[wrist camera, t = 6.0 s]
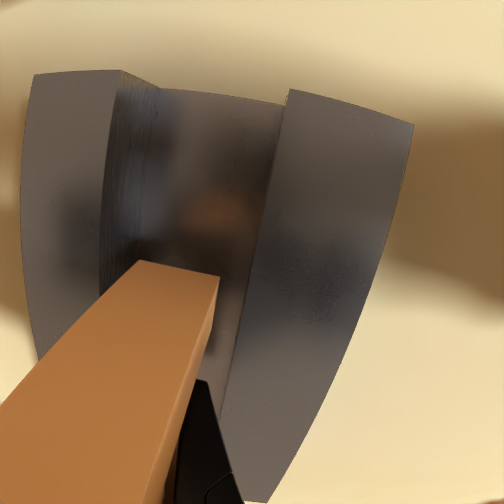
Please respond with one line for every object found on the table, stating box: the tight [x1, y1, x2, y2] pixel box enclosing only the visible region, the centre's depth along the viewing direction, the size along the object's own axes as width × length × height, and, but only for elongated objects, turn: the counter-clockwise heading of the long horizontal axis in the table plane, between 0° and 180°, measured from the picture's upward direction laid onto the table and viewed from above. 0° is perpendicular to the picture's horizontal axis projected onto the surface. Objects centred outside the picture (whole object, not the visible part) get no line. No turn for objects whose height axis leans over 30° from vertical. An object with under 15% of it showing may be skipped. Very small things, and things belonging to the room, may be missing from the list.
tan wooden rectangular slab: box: [0, 260, 220, 504], centre depth 6 cm, size 2×6×8 cm, turn 169°
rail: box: [20, 70, 414, 503], centre depth 11 cm, size 10×16×4 cm, turn 169°
